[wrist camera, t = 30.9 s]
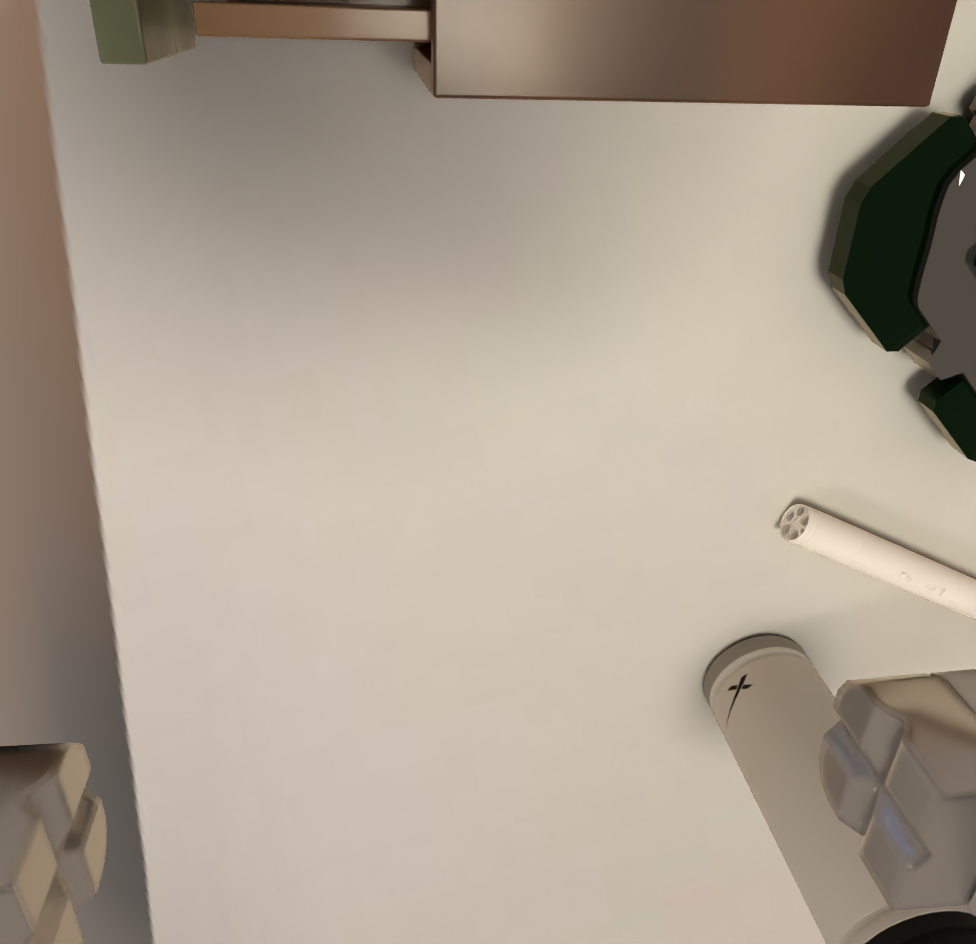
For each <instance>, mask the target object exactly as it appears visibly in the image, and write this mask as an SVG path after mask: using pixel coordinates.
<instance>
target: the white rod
mask: <svg viewBox="0 0 976 944" xmlns="http://www.w3.org/2000/svg"><path fill="white" fill-rule="evenodd" d="M780 533H781V535H782V537H783V538H784V539H786V540H787V541H789V542H791V543H792V544H794V545H797V546H799V547H802V548H804V549H807V550H809V551H811V552H814V553H816V554H819V555H821V556H823V557H826V558H828V559H831V560H833V561H835V562H838V563H840V564H842V565H845V566H847V567H850V568H852V569H855V570H857V571H860V572H862V573H864V574H867V575H869V576H872V577H874V578H876V579H879V580H881V581H884V582H886V583H888V584H891V585H893V586H896V587H898V588H900V589H903V590H905V591H908V592H910V593H912V594H915V595H917V596H920V597H922V598H924V599H927V600H929V601H932V602H934V603H936V604H939V605H941V606H943V607H946V608H948V609H951V610H953V611H956V612H958V613H960V614H963V615H965V616H968V617H970V618H972V619H975V620H976V579H973V578H971V577H969V576H966V575H964V574H962V573H960V572H957V571H955V570H953V569H951V568H948V567H946V566H944V565H941V564H939V563H937V562H935V561H932V560H930V559H928V558H926V557H923V556H921V555H919V554H916V553H914V552H912V551H910V550H907V549H905V548H903V547H900V546H898V545H896V544H894V543H891V542H889V541H887V540H885V539H882V538H880V537H878V536H875V535H873V534H871V533H869V532H866V531H864V530H862V529H860V528H857V527H855V526H853V525H850V524H848V523H846V522H844V521H841V520H839V519H837V518H835V517H832V516H830V515H828V514H825V513H823V512H821V511H819V510H816V509H814V508H812V507H809V506H806V505H803V504H796V505H793V506H791V507H790V508H789V509H788V510H787V511H786V512H785V514H784V515H783V517H782V520H781V523H780Z"/></svg>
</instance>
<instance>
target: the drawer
mask: <svg viewBox="0 0 976 944" xmlns="http://www.w3.org/2000/svg"><path fill="white" fill-rule="evenodd" d="M89 1H90V6H91V12H92V17H93V23H94V29H95V34H96V40H97V45H98V51H99V56H100V60H101V62H102V63H104V64H143V65H145V64H148V63H151V62H154V61H157V60H160V59H163V58H166V57H169V56H172V55H175V54H178V53H181V52H184V51H187V50H190V49H193V48H195V47H196V42H195V34H194V27H193V19H192V11H191V3H190V0H89ZM192 7H193V15H194V23H195V31H196V34H197V35H198V36H215V37H252V38H290V39H328V40H365V41H403V42H431V0H215V1H196V2H193V3H192Z"/></svg>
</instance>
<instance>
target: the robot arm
mask: <svg viewBox="0 0 976 944" xmlns="http://www.w3.org/2000/svg"><path fill="white" fill-rule="evenodd" d="M833 707H834V709H835V711H836V712H837V714H838V715H839V717H840V718H841V719H840V720H839V721H838V722H837V723H836V724H835V725H834V726H833V727H832V728H831V729H829V730H828V731H827V732H826V733H825V734H824V735H823V739H822V743H821V747H820V751H819V755H818V760H819V770H820V780H821V783H822V786H823V789H824V792H825V795H826V798H827V800H828V802H829V804H830V806H831V807H832V809H833V811H834V813H835V815H836V816H837V818H838V820H840V821H841V822H843V823H844V824H846V825H847V826H848V827H850V828H851V829H853V830H854V831H856V832H857V833H858V834H860V835H861V843H860V850H859V856H860V858H861V860H862V861H863V863H864V865H865V866H866V868H867V870H868V872H869V873H870V875H871V877H872V878H873V880H874V882H875V884H876V885H877V887H878V889H879V890H880V892H881V894H882V895H883V897H884V899H885V901H886V902H887V904H888V906H889V907H890V909H891V911H901V910H912V909H924V908H935V907H947V906H959V905H968V907H967V910H968V911H970V912H971V913H972V914H973V915H974V916H976V670H975V669H972V670H960V671H949V672H937V673H931V674H913V675H902V676H891V677H880V678H869V679H858V680H847V681H846V682H845V683H844V684H843V685H842V686H841V687H840V688H839V689H838V691H837V694H836V697H835V700H834V703H833ZM90 770H91V766H90V762H89V760H88V757H87V754H86V751H85V749H84V746H83V744H79V743H74V742H73V743H56V744H55V743H54V744H37V745H19V746H0V944H82V940H83V936H82V933H81V930H80V927H79V924H78V921H77V918H76V914H77V913H78V912H79V911H80V910H81V909H82V908H83V907H84V906H85V905H86V904H87V903H88V902H89V901H90V900H91V899H92V898H93V897H94V896H95V895H96V893H97V889H98V886H99V882H100V878H101V875H102V871H103V868H104V860H105V850H106V841H107V831H106V819H105V812H104V809H103V806H102V802H101V799H100V797H98V796H97V795H95V794H94V793H93V792H91V791H89V790H88V789H86V788H85V784H86V781H87V779H88V776H89V773H90Z"/></svg>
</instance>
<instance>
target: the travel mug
mask: <svg viewBox="0 0 976 944" xmlns="http://www.w3.org/2000/svg"><path fill="white" fill-rule="evenodd" d="M704 694H705V697H706V700H707V702H708V704H709V706H710V708H711V710H712V712H713V714H714V715H715V717H716V720H717V722H718V724H719V726H720V728H721V730H722V732H723V734H724V736H725V738H726V740H727V743H728V745H729V747H730V749H731V751H732V753H733V755H734V757H735V759H736V761H737V763H738V765H739V767H740V769H741V771H742V773H743V775H744V777H745V779H746V781H747V783H748V785H749V787H750V789H751V791H752V793H753V796H754V798H755V800H756V802H757V804H758V806H759V808H760V810H761V812H762V814H763V816H764V818H765V820H766V822H767V824H768V826H769V828H770V830H771V832H772V834H773V836H774V838H775V840H776V842H777V844H778V846H779V848H780V851H781V853H782V855H783V857H784V859H785V861H786V863H787V865H788V867H789V869H790V871H791V873H792V875H793V877H794V879H795V881H796V883H797V885H798V887H799V889H800V891H801V893H802V895H803V897H804V899H805V901H806V904H807V906H808V908H809V910H810V912H811V914H812V916H813V918H814V920H815V922H816V924H817V926H818V928H819V930H820V932H821V934H822V936H823V938H824V940H825V942H826V944H976V916H974V915H973V914H972V913H971V912H970V911H968V910H967V907H968V905H959V906H947V907H935V908H924V909H912V910H901V911H891V909H890V907H889V906H888V904H887V902H886V901H885V899H884V897H883V895H882V894H881V892H880V890H879V889H878V887H877V885H876V884H875V882H874V880H873V878H872V877H871V875H870V873H869V872H868V870H867V868H866V866H865V865H864V863H863V861H862V860H861V858H860V856H859V850H860V843H861V835H860V834H858V833H857V832H856V831H854V830H853V829H851V828H850V827H848V826H847V825H846V824H844V823H843V822H841V821H840V820H838V818H837V816H836V815H835V813H834V811H833V809H832V807H831V806H830V804H829V802H828V800H827V798H826V795H825V792H824V789H823V786H822V783H821V780H820V770H819V760H818V755H819V751H820V747H821V743H822V739H823V735H824V734H825V733H826V732H827V731H828V730H829V729H831V728H832V727H833V726H834V725H835V724H836V723H837V722H838V721H839V720H840V719H841V718H840V717H839V715H838V714H837V712H836V711H835V709H834V707H833V703H834V700H835V697H834V696H833V694H832V693H831V691H830V690H829V688H828V687H827V685H826V684H825V682H824V681H823V679H822V678H821V676H820V675H819V673H818V672H817V670H816V669H815V668H814V666H813V665H812V663H811V661H810V660H809V659H808V657H807V656H806V654H805V653H804V651H803V650H802V648H801V647H800V646H799V645H798V644H797V643H795V642H793V641H791V640H789V639H786V638H783V637H780V636H770V635H768V636H758V637H753V638H749V639H746V640H744V641H741V642H739V643H737V644H735V645H733V646H731V647H730V648H728V649H727V650H726V651H724V652H723V653H722V654H721V655H720V656H719V657H718V658H717V659H716V660H715V661H714V662H713V663H712V665H711V666H710V668H709V670H708V672H707V674H706V677H705V681H704Z"/></svg>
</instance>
